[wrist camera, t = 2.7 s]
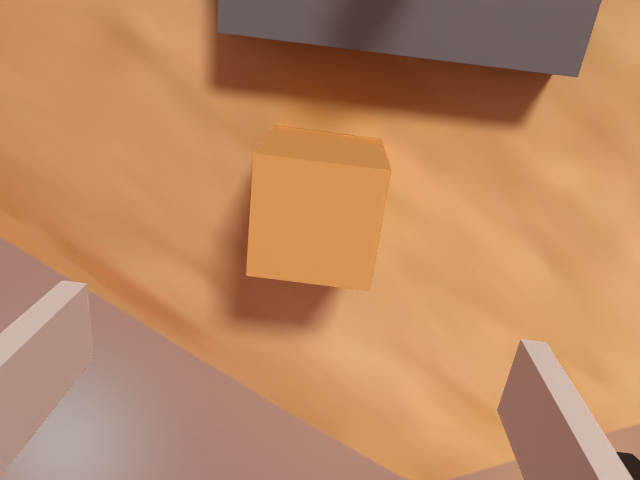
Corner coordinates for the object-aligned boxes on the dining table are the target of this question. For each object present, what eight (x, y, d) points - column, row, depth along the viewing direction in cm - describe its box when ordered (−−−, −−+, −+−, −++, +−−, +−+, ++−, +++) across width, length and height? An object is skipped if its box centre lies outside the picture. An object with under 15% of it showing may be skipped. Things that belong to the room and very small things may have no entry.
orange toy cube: (266, 225, 31) (246, 275, 25) (274, 125, 29) (253, 153, 22) (365, 237, 31) (369, 291, 25) (381, 139, 29) (391, 170, 22)
